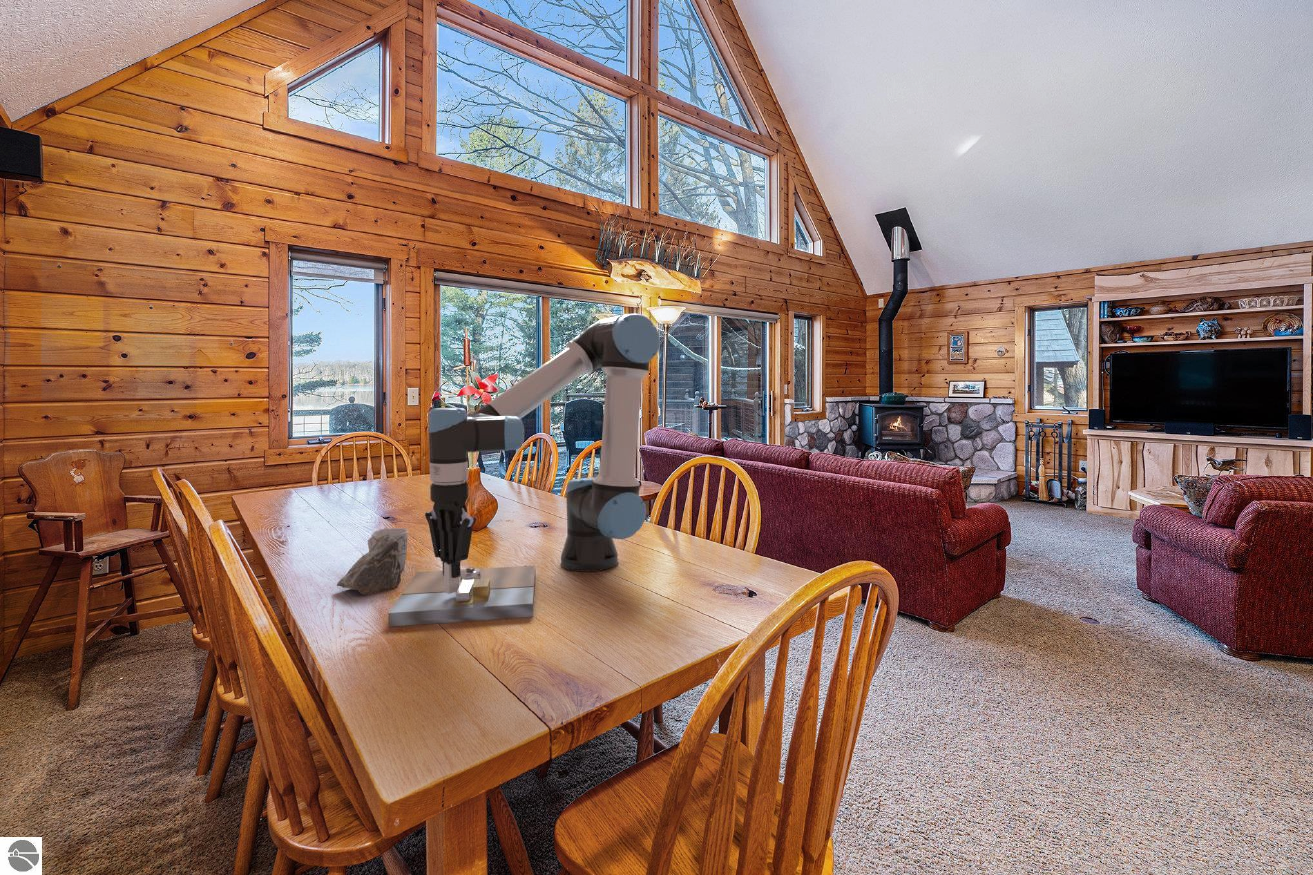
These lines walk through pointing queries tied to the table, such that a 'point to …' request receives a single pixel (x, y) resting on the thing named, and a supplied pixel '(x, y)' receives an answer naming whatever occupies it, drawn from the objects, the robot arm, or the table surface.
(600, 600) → the table surface
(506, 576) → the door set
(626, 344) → the robot arm
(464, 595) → the latch bar
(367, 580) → the rock
